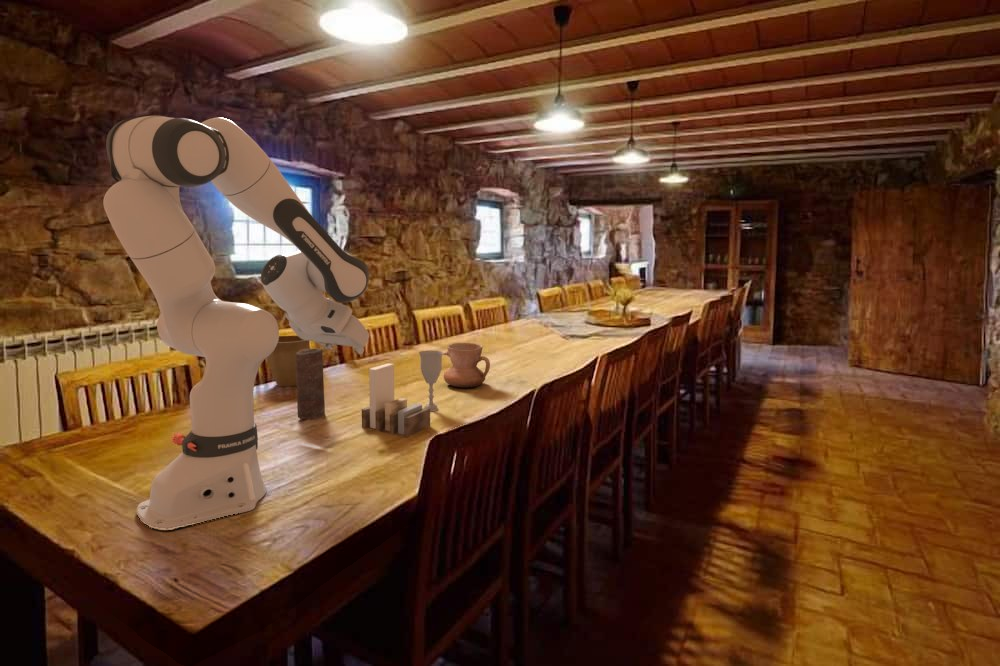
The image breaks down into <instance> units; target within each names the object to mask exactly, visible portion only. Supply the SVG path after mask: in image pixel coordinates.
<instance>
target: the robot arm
mask: <svg viewBox="0 0 1000 666" xmlns="http://www.w3.org/2000/svg"><path fill="white" fill-rule="evenodd" d="M105 147H106V148H105V149H106V154H107V158H108V160H109V164H110V165H109V168H110V174H111V175H110V176H111V177H112V179H113V180H114V181H116V182H115V183H114V184H113V185H112V186H110V188H108V190H107V191H106V193H105V194H104V197H103V201H102V202H103V203H102V204H103V209H104V212H105V213H106V216H107V218H108V220H109V223H110V225H111V227H112V230H113V231H114V234H115V235H116V237H117V239H118V241H119V242H120V244H121V246H122V247H123V249H124V251H125V252H126V254H127V255H128V256H129V258H130V260H131V262H132V263H133V264H134V266H135V267H136V269H137V270H138V271H139V273H140V274H141V276H142V278H143V279H144V281H145V282H146V283H147V285H148V287H149V289H150V290H151V291H152V293H153V295H154V297H155V301H156V302H157V305H158V308H159V312H160V314H159V315H158V319H157V324H156V327H157V328H156V329H157V333H158V336H159V338H160V341H162V342H163V343H164V344H165V345H166V346H168V347H169V348H172V349H174V350H175V351H178V352H180V353H182V354H185V355H189V356H196V357H202V358H205V368H204V371H203V376H202V378H201V380H200V381H198V382H197V383H196V384H194V386H193V387H192V388H191V390H190V392H189V406H190V420H191V429H190V431H189V432H188V434H187V435H183V434H182V433H180V432H177V433H174V434H173V436H172V437H171V441H172V443H174V444H176V445H177V446H181V450H182V452H181V453H180V454H179V455H178V456H176V458H174V459H173V460H172V461H171V462H170V463H169V464H168V465H166V466H165V467H164V468H163V469H162V470H160V472H158V473H157V474H156V475H155V476H154V478H153V480H152V482H151V486H150V493H149V499H146V500H144V501H142V502H140V503H139V504H138V505H137V507H136V516H137V515H138V516H139V518H140V519H141V520H142V521H144V522H145V523H146V524H148V525H151V526H153V527H158V528H166V529H168V528H173V527H177V526H182V525H186V524H192V523H197V522H202V521H206V520H211V519H215V520H217V519H216V518H219V519H221V518H220V517H223V518H225V517H224V516H227V517H229V516H228V515H231V516H234V515H233V514H235V515H237V514H238V513H239V514H243V513H246V512H250V511H253V510H254V509H255V508H256V506H257V503H258V502H259V500H261V499H262V498H263V497H265V495H266V493H267V487H266V485H265V481H264V479H263V475H262V473H261V468H260V463H259V459H258V452H257V450H258V447H259V446H258V445H259V443H258V442H259V441H258V440H259V438H258V437H259V436H258V435H259V434H258V428H257V427H258V426H257V425H258V424H256V423H255V412H254V411H255V409H254V405H255V404H254V403H255V401H254V400H255V399H254V389H255V383H256V378H257V375H258V372H259V369H260V367H261V365H262V364H263V362H264V361H265V359H267V357H268V356H269V355H270V354H271V353H272V352H273V351H274V349H275V347H276V345H277V343H278V339H279V336H280V330H279V329H280V328H279V325H278V322H277V319H276V318H275V317H274V315H273V314H272V313H271V312H269V311H267V310H266V309H263V308H260V307H258V306H255V305H252V304H249V303H246V302H245V303H243V302H236V301H235V302H234V301H233V302H231V301H225V300H222V299H220V298H219V297H218V296H217V295H216V294H215V292H214V290H213V286H212V281H213V278H214V276H215V275H216V274H215V273H216V265H215V262H214V260H213V258H212V256H211V254H210V253H209V252H208V249H207V248H206V246H205V244H204V242H203V241H202V239H201V238H200V236H199V234H198V232H197V230H196V229H195V227H194V226H193V224H192V222H191V221H190V219H189V218H188V216H187V214H186V212H184V210H183V209H184V208H183V206H182V204H181V198H180V187H184V188H195V187H200V186H203V185H205V184H208V183H210V182H211V183H212V184H213V186H214V187H215V188H216V189H217V190H218V191H219V192H220V193H221V195H222V196H224V197H225V199H226V200H227V201H228V202H230V203H231V204H232V205H233V206H235V208H237V209H238V210H239V211H241V212H242V213H243V214H245V215H246V216H248V217H249V218H250V219H252V220H254V221H255V222H257V223H259V224H260V225H263V226H265V227H266V228H268V229H270V230H272V231H273V232H275V233H277V234H279V235H280V236H281V237H283V238H285V239H286V240H288V241H289V242H290V243H292V245H294V247H296V248H297V249H298V250H296V251H294V252H291V253H287V254H286V253H282V254H277V255H275V256H273V257H271V258H270V259H269V260H267V262H266V263H265V265H264V266H263V268H262V270H261V273H260V282H261V285H262V286H263V288H264V290H265V291H266V293H267V295H269V297H270V298H271V300H272V301H273V302H274V303H275V304H276V305H277V306H278V307H279V308H280V309H281V310H283V311H285V314H284V317H285V318H286V319H287V321H289V322H288V325H289V327H290V328H291V330H292V331H293V332H294V334H296V336H298V337H300V338H301V339H303V340H308V341H309V342H314V343H316V344H318V345H321V346H322V347H324V349H326V350H328V351H333V349H334V347H335V345H339V346H346V347H352V348H353V349H352V351H353V352H354V353H355V355H363V353H364V351H365V347H366V344H367V343H368V341H369V338H370V333H369V331H368V330H367V329H366V327H365V325H364V324H363V323H362V322H361V321H360V319H359V318H358V317H356V316H355V315H353V314H352V313H353V310H352V308H351V307H349V305H348V306H347V305H345V304H348V303H351V302H353V301H355V300H357V299H359V298H360V297H361V296H362V295H363V294H364V293H365V292H366V290H367V288H368V286H369V281H370V269H369V267H368V265H367V263H366V262H365V261H363V260H362V259H360V258H357V257H356V256H353V255H351V254H350V253H348V252H347V251H345V250H343V249H342V247H340V245H338V243H337V242H336V241H335V240H334V239H333V238H332V237H331V235H330V234H328V232H327V231H326V230H325V229H324V227H323V226H322V225H320V223H319V222H318V221H317V220H316V219H315V218H314V217H313V215H312V214H311V213H310V211H309V210H308V209H307V207H306V205H305V204H304V203H303V202H302V200H301V199H300V198H299V196H298V195H297V193H296V192H295V191H294V190H293V188H292V187H291V185H290V184H289V182H288V180H287V179H286V178H285V177H284V175H283V174H282V172H281V171H280V170H279V168H278V166H276V165H275V163H274V162H273V160H272V159H271V158H270V156H268V155H267V153H266V152H265V151H264V149H262V147H260V146H259V144H258V143H257V142H256V141H255V140H254V139H253V138H252V137H251V136H250V135H249V134H248V133H247V132H245V130H243V129H242V128H241V127H240V126H238V124H236V123H235V122H234V121H232V120H230V119H227V118H224V117H213V118H209V119H207V120H204V121H202V122H198V121H196V120H194V119H191V118H190V119H189V118H185V117H176V118H175V117H168V116H163V115H149V116H148V115H147V116H140V117H139V116H133V117H128V118H125V119H123V120H120V121H119V122H117V123H116V124H115V125H114V126H113V127H111V129H110V130H109V131H108V134H107V136H106V143H105ZM116 176H117V177H118V178H117V177H116ZM324 292H325V293H326V294H327V295H328V296H329V297H331V298H329V297H326V296H325V295H324ZM139 518H138V519H139ZM211 521H212V520H211ZM159 523H161V524H159Z"/></svg>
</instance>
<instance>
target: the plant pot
mask: <svg viewBox="0 0 1000 666" xmlns="http://www.w3.org/2000/svg"><path fill="white" fill-rule="evenodd" d="M302 349H310V341H308V340H303V339H301V338H300V337H298V336H297V335H279V339H278V343H277V345H276V347H275V349H274V351H273V352H272V353H271V354H270V355H269V356H268V357H267V358H266V359H267V362H268V363H267V364H268V365H269V369H270V371H271V374H272V377H273V379H274V381H275V383H276V385H277V386H278V387H284V388H287V387H294V386H295V385H296V386H297V379H296V353H297V352H299V351H300V350H302Z"/></svg>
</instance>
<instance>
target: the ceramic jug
mask: <svg viewBox="0 0 1000 666" xmlns="http://www.w3.org/2000/svg"><path fill="white" fill-rule="evenodd" d="M442 352H443V355H442V356H447V357H448V358H449V359H450V361H451V364H452V366H451V367H450V368H448V369H447V370H445V371H444V372H443V373H444V374H443V380H444V381H445V383H446V384H448V385H449V386H451V387H455V388H461V389H462V388H463V389H465V388H474V387H477V386H478V387H479V386H480V385H482V384H483V383H484V382H485V380H486V377H487V376H488V373H489V371H490V367H491V362H490V359H489V358H488V357H487V356H483V355H482V353H483V345H482V344H479V343H474V342H453V343H449V344H448V345H447V350H445V351H442ZM481 355H482V356H481ZM482 361H484V363H485V369H484V371H482V369H480V368H479V367H477V365H478V364H479V363H480V362H482Z"/></svg>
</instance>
